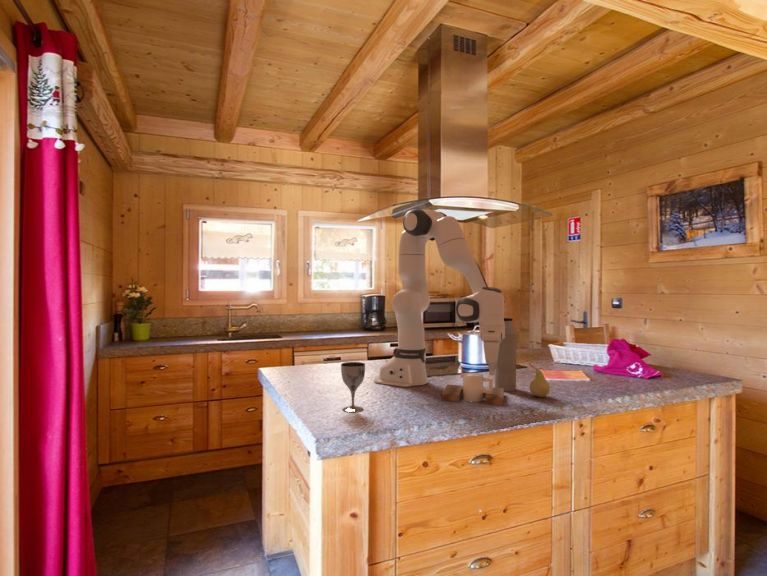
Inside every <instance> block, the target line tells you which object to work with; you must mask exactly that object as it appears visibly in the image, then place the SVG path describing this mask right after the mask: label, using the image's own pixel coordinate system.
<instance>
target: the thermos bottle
mask: <svg viewBox="0 0 767 576" xmlns="http://www.w3.org/2000/svg"><path fill="white" fill-rule="evenodd" d="M504 322H505V338H504V339H502V340H501V343H500V344H499V350H498V359H497V363H496V369H495V375H494V388H501V389H504V392H507V391H508V392H509V391H510V392H515V391H516V390H517V337H518V336H517V335H518V334H517V332H516V327H515V326H514V325H513V318H511V317H504ZM510 392H509V393H510Z"/></svg>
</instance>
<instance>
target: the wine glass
mask: <svg viewBox="0 0 767 576" xmlns="http://www.w3.org/2000/svg"><path fill="white" fill-rule="evenodd" d="M340 372H341V373H340V374H341V379H342V381H343V383H344V385H345V386H346V388H348V389H349V391H350V395H351V405H348V406H345V407H343V408H342V409H341V411H342V410H343V411H342V412H344V413H348V412H349V413H350V414H353V413H355V414H356V412H357V413H361V412H364V410H365V409H364V408H363V407H361V406H357V405H355V395H356V391H357V389H358V388H359V387H360V386H361V384H362V383H363V382H364V379H365V374H366V363H364V362H359V361H347V362H342V363H341V364H340Z"/></svg>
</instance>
